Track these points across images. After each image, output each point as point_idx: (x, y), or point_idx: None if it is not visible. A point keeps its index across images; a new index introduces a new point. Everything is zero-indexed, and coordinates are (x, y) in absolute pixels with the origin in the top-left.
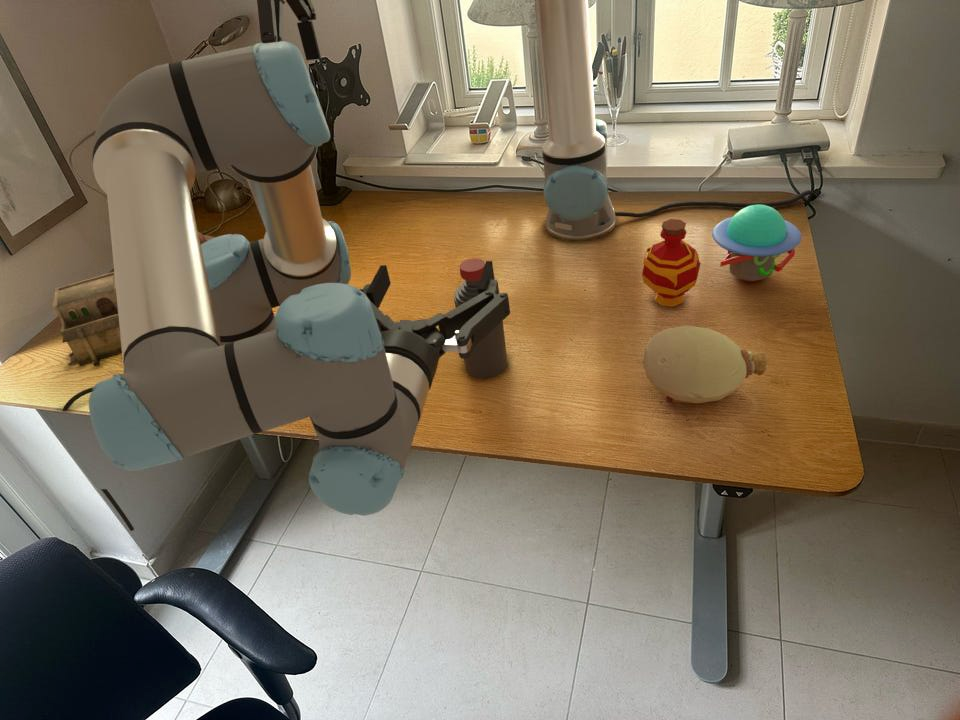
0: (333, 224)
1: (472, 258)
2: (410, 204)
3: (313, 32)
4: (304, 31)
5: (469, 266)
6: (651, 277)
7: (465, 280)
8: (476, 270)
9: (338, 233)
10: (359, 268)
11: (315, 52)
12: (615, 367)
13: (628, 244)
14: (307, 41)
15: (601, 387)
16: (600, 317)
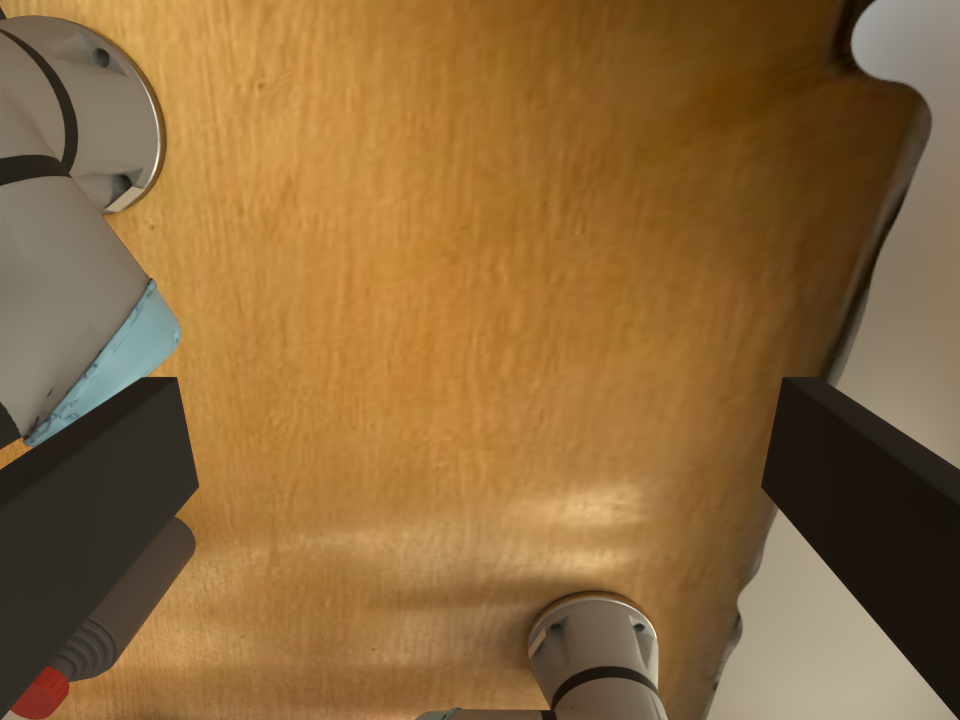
0: (54, 429)
1: (52, 699)
2: (771, 297)
3: (914, 661)
4: (956, 590)
5: (21, 698)
6: None
7: (58, 653)
8: (11, 709)
9: (32, 445)
10: (453, 248)
11: (795, 497)
12: (190, 683)
13: (512, 701)
14: (871, 515)
15: (146, 669)
16: (302, 668)
